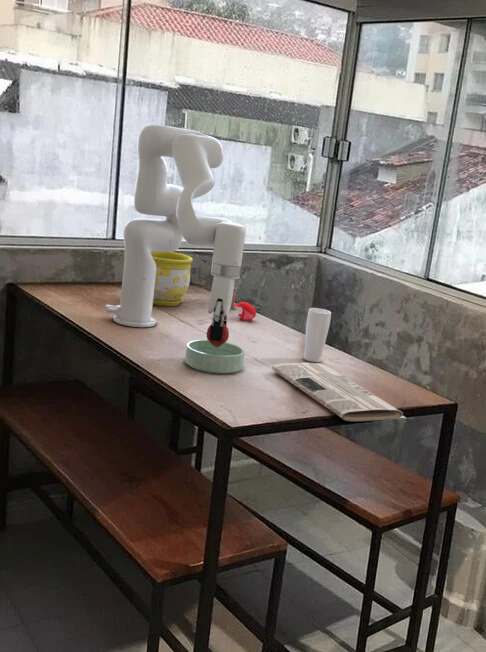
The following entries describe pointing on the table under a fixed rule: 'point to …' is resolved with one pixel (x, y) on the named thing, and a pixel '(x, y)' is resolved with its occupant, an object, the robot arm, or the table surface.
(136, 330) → the table surface
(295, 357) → the table surface
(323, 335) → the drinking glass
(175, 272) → the flowerpot
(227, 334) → the onion
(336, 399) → the newspaper
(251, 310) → the red toy figurine
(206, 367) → the bowl
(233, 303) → the lighter
